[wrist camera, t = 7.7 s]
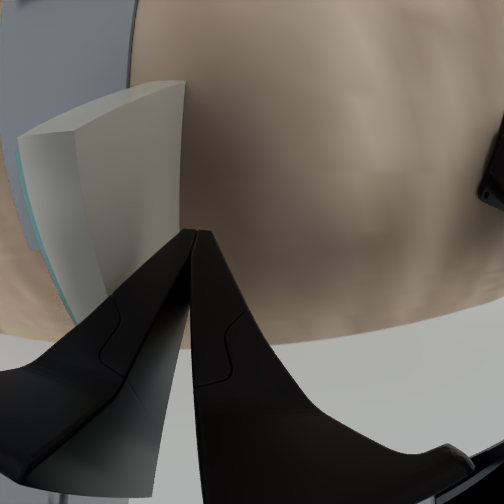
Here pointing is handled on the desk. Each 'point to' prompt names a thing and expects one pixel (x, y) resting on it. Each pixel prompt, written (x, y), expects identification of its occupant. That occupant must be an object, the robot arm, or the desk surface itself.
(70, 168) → the glazed tile
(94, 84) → the rubber mat
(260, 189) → the desk surface
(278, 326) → the desk surface
